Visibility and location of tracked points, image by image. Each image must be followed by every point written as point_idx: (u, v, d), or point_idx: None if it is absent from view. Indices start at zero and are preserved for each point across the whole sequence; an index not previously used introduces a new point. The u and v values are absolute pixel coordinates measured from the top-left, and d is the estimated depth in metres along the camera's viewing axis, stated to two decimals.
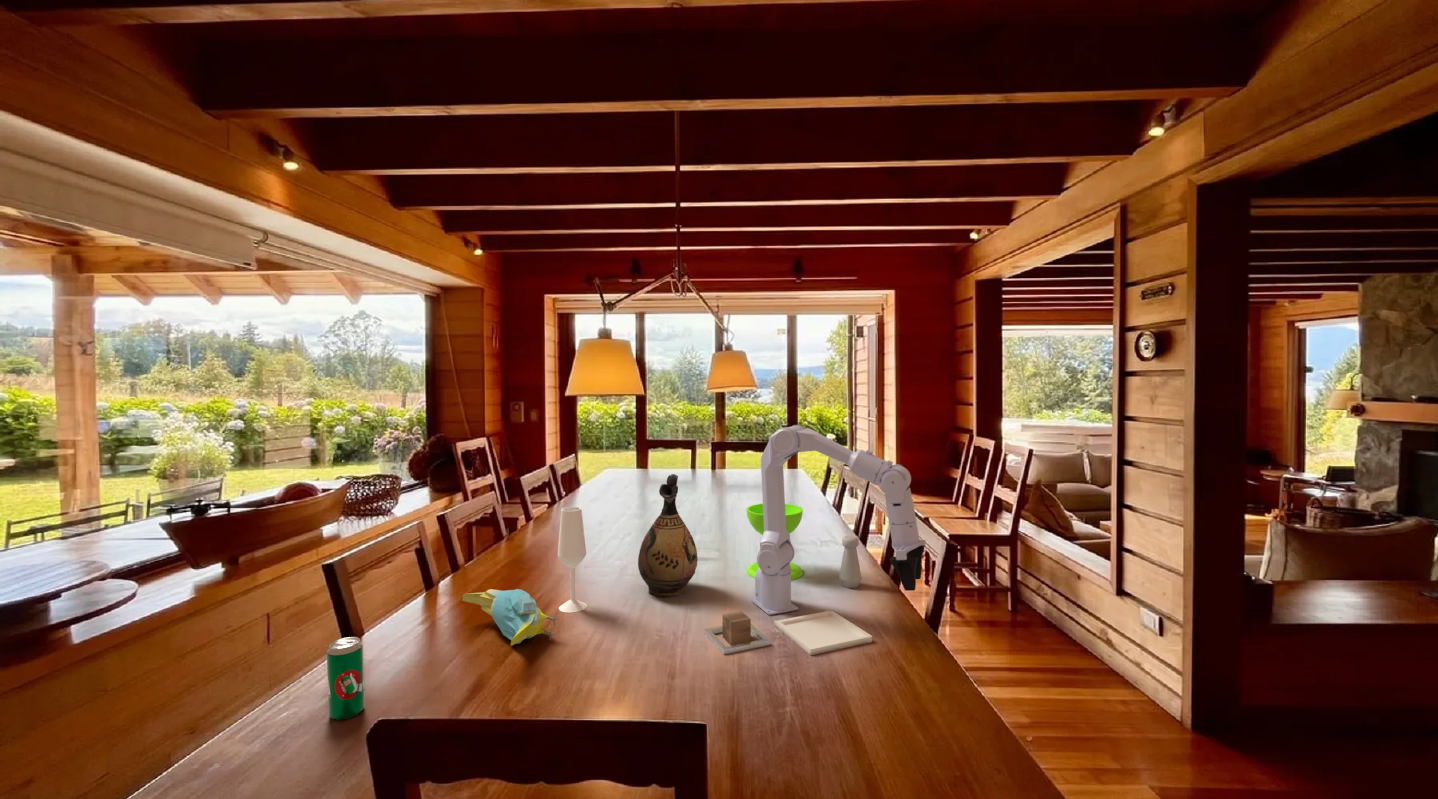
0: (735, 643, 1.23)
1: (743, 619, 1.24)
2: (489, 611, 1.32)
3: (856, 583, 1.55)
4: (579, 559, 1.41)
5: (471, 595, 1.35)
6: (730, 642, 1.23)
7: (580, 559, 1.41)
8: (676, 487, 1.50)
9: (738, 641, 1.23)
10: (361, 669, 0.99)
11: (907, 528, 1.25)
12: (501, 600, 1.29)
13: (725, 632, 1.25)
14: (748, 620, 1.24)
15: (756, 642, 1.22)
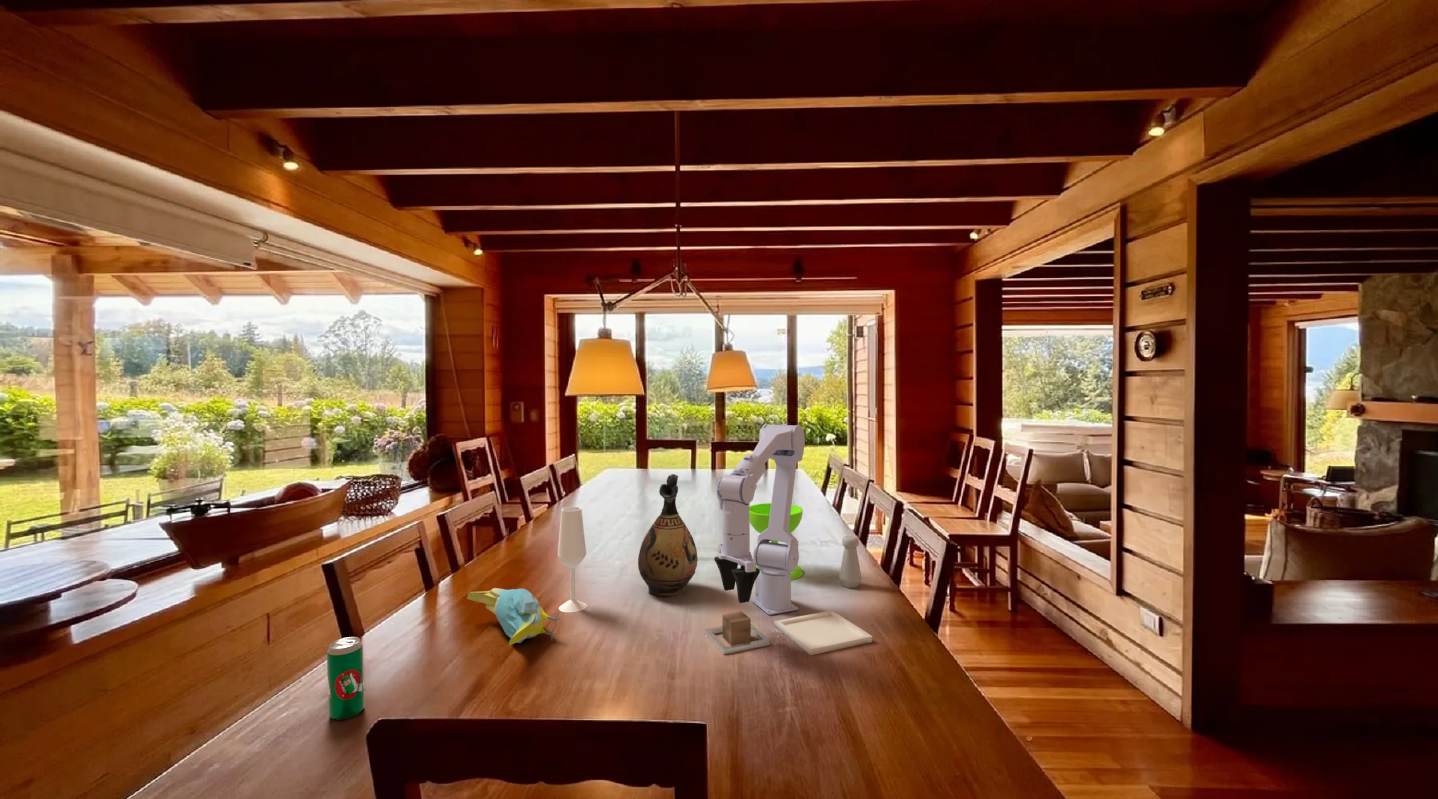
0: (735, 643, 1.23)
1: (743, 619, 1.24)
2: (493, 610, 1.33)
3: (856, 583, 1.55)
4: (579, 559, 1.41)
5: (476, 593, 1.35)
6: (730, 642, 1.23)
7: (580, 559, 1.41)
8: (676, 487, 1.50)
9: (738, 641, 1.23)
10: (361, 669, 0.99)
11: None
12: (504, 599, 1.29)
13: (725, 632, 1.25)
14: (748, 620, 1.24)
15: (756, 642, 1.22)
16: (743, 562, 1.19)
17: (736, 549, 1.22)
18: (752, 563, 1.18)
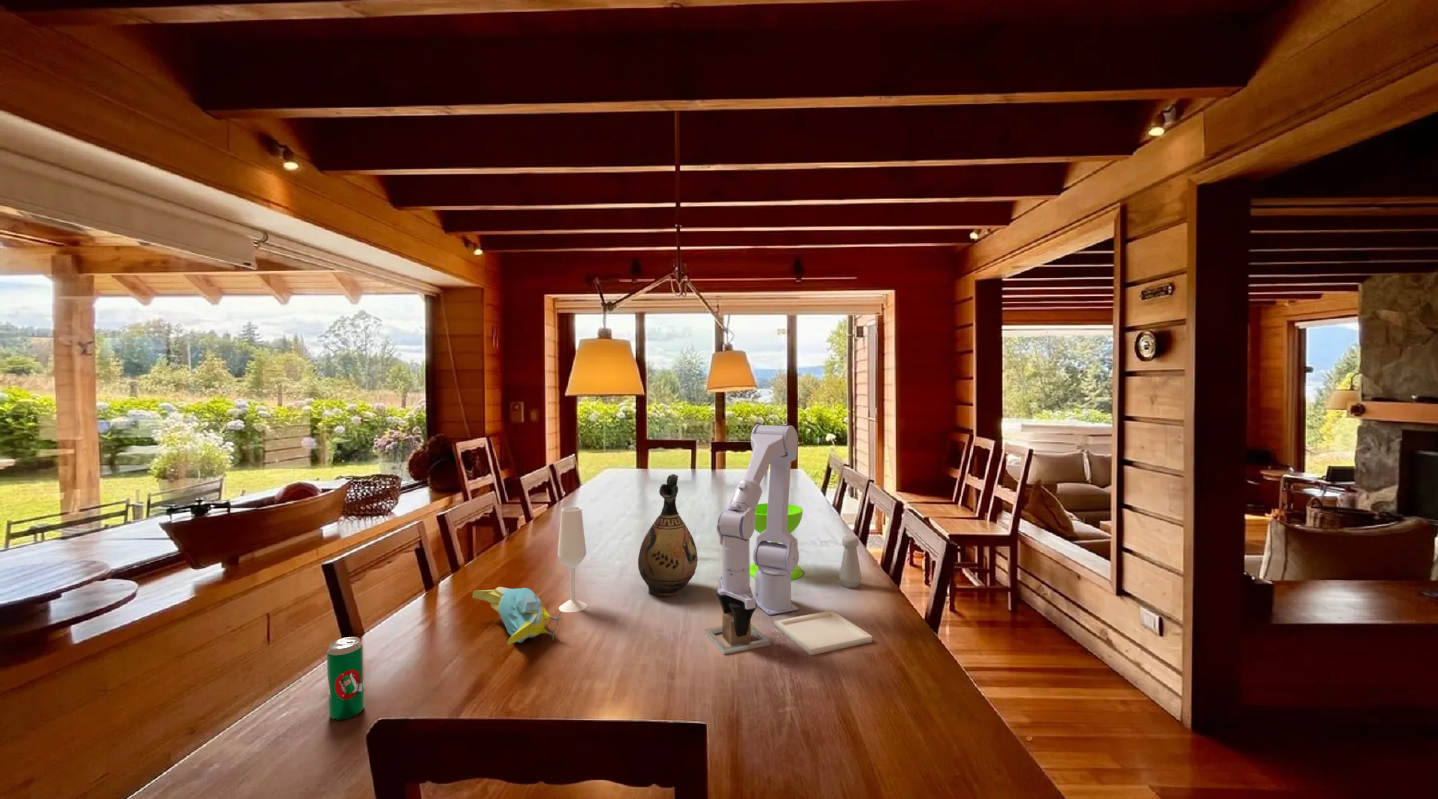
0: (735, 643, 1.23)
1: None
2: (497, 609, 1.33)
3: (856, 583, 1.55)
4: (579, 559, 1.41)
5: (481, 592, 1.36)
6: (730, 642, 1.23)
7: (580, 559, 1.41)
8: (676, 487, 1.50)
9: (738, 640, 1.23)
10: (361, 669, 0.99)
11: None
12: (507, 598, 1.30)
13: (725, 632, 1.25)
14: None
15: (756, 642, 1.22)
16: (743, 599, 1.19)
17: (736, 585, 1.22)
18: (752, 600, 1.18)
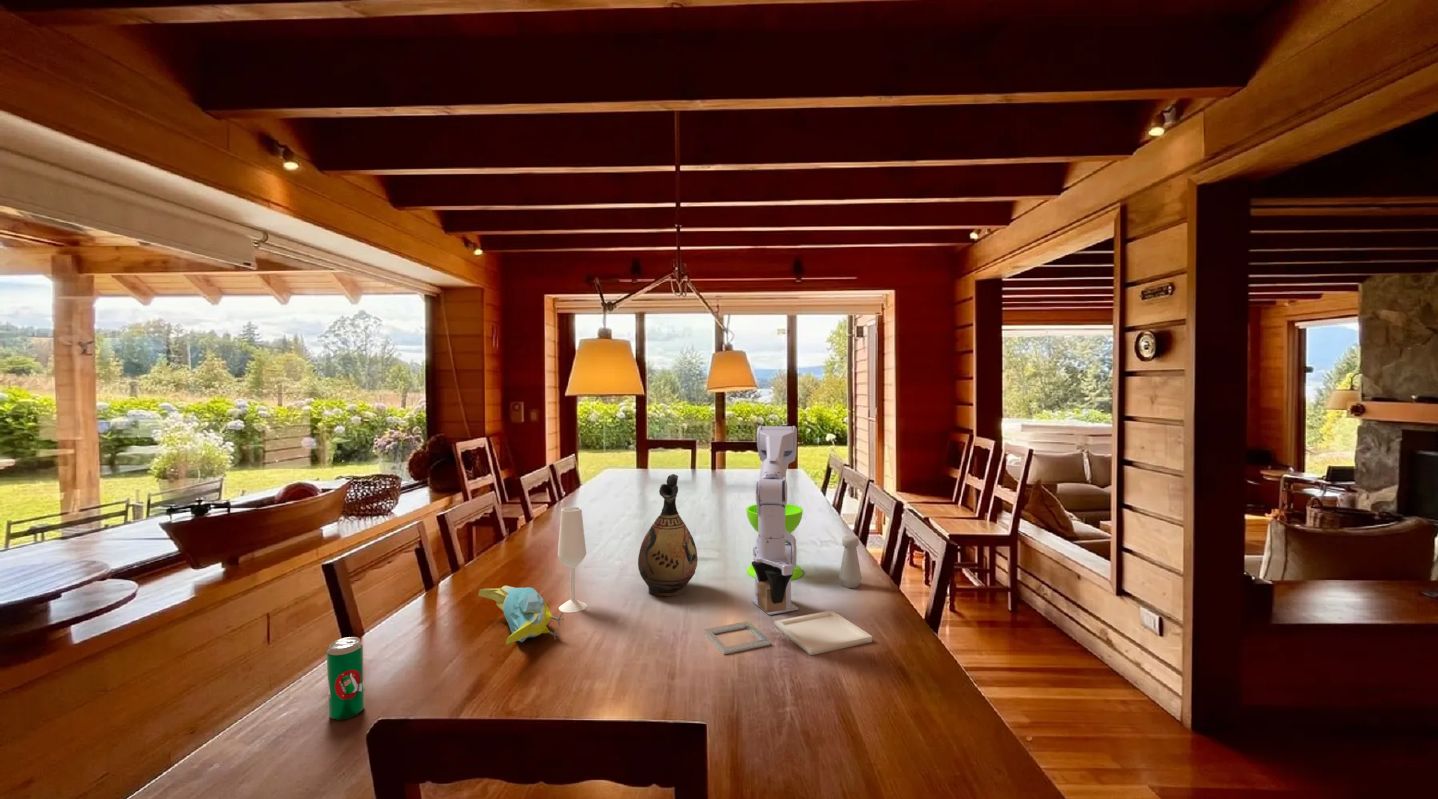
0: (771, 610, 1.24)
1: None
2: (502, 607, 1.34)
3: (856, 583, 1.55)
4: (579, 559, 1.41)
5: (487, 590, 1.37)
6: (766, 609, 1.24)
7: (580, 559, 1.41)
8: (676, 487, 1.50)
9: (774, 608, 1.24)
10: (361, 669, 0.99)
11: None
12: (511, 597, 1.30)
13: (760, 599, 1.26)
14: None
15: (756, 642, 1.22)
16: (780, 565, 1.20)
17: (772, 552, 1.23)
18: (789, 566, 1.19)
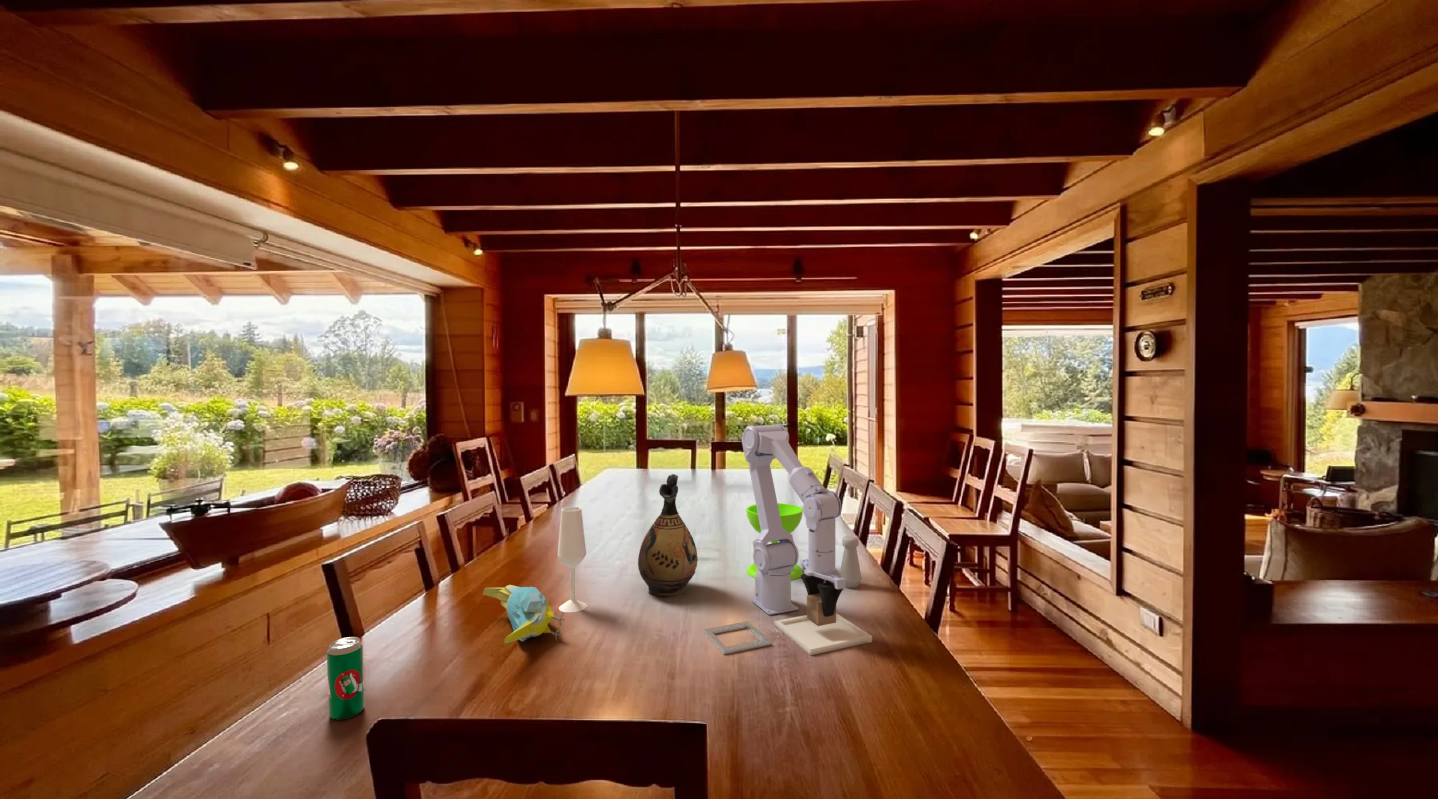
0: (822, 623, 1.25)
1: None
2: (506, 606, 1.35)
3: (856, 583, 1.55)
4: (579, 559, 1.41)
5: (492, 589, 1.38)
6: (817, 622, 1.25)
7: (580, 559, 1.41)
8: (676, 487, 1.50)
9: (824, 621, 1.25)
10: (361, 669, 0.99)
11: None
12: (514, 596, 1.31)
13: (810, 613, 1.27)
14: None
15: (756, 642, 1.22)
16: (833, 579, 1.21)
17: (823, 566, 1.24)
18: (842, 580, 1.21)
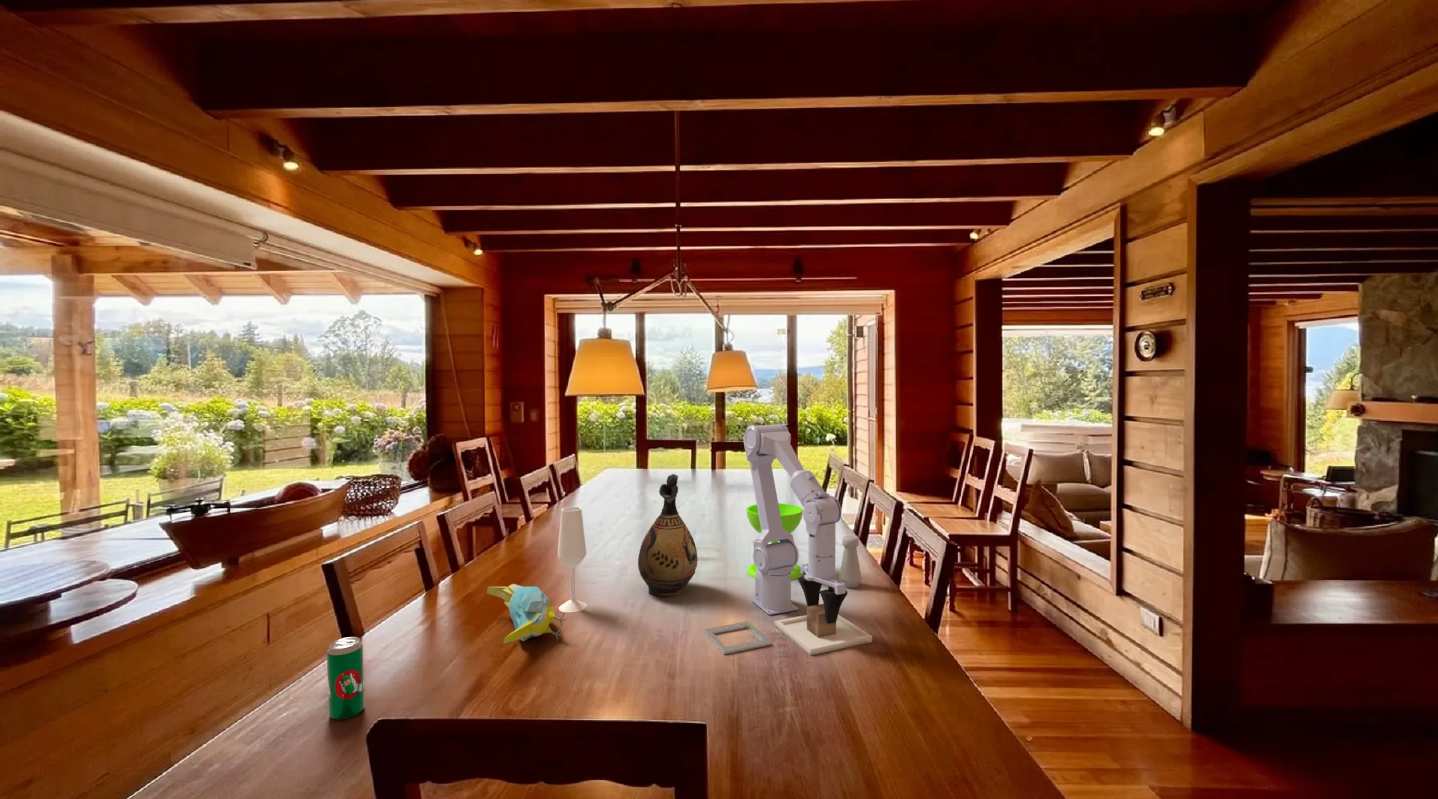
0: (822, 635, 1.25)
1: None
2: (509, 606, 1.35)
3: (856, 583, 1.55)
4: (579, 559, 1.41)
5: (495, 588, 1.39)
6: (817, 634, 1.25)
7: (580, 559, 1.41)
8: (676, 487, 1.50)
9: (824, 632, 1.25)
10: (361, 669, 0.99)
11: None
12: (516, 595, 1.31)
13: (810, 624, 1.27)
14: None
15: (756, 642, 1.22)
16: (833, 584, 1.21)
17: (823, 571, 1.24)
18: (842, 585, 1.21)
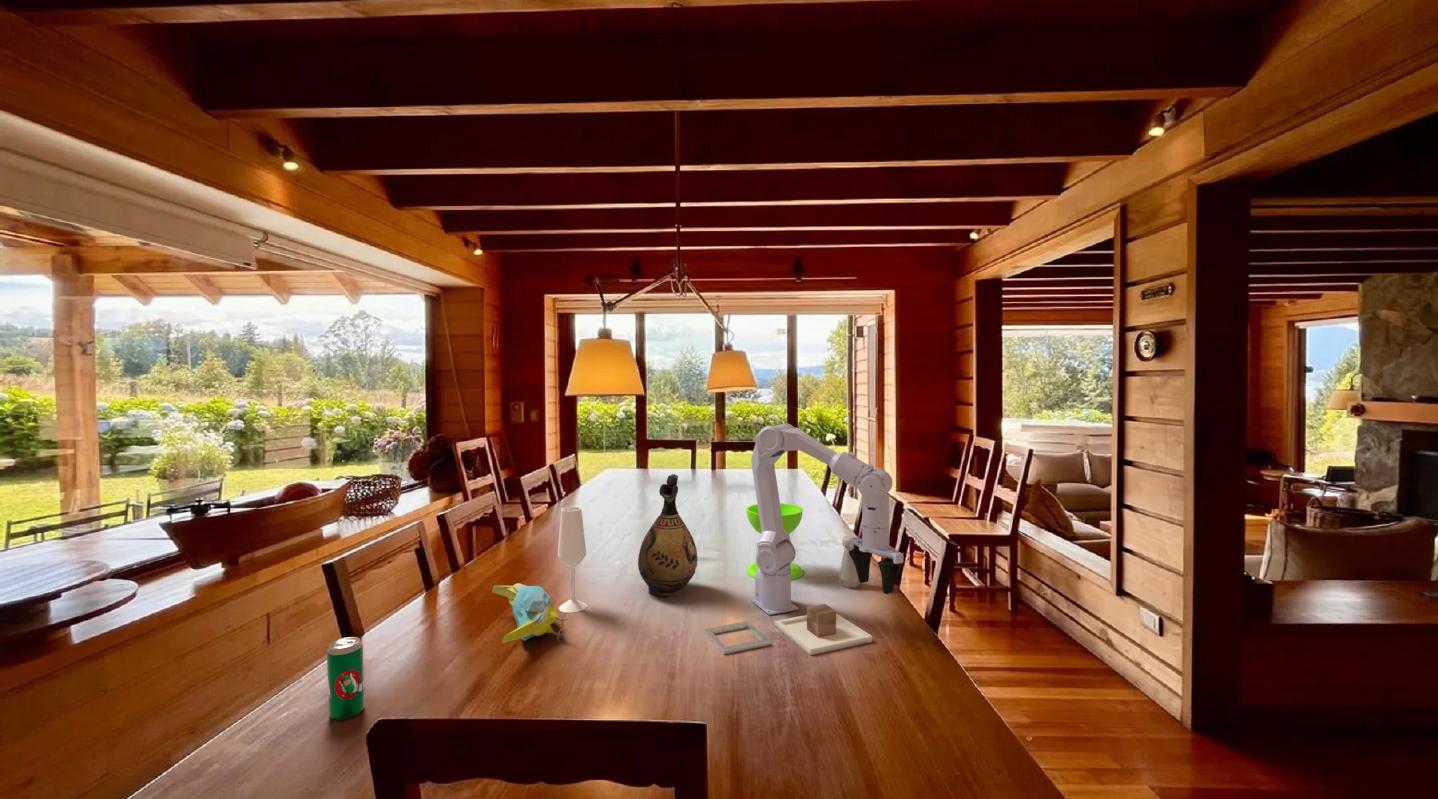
0: (822, 635, 1.25)
1: (829, 611, 1.26)
2: (513, 605, 1.36)
3: (856, 583, 1.55)
4: (579, 559, 1.41)
5: (500, 587, 1.39)
6: (817, 634, 1.25)
7: (580, 559, 1.41)
8: (676, 487, 1.50)
9: (824, 632, 1.25)
10: (361, 669, 0.99)
11: None
12: (519, 595, 1.32)
13: (810, 624, 1.27)
14: (834, 612, 1.26)
15: (756, 642, 1.22)
16: (891, 554, 1.23)
17: (879, 542, 1.26)
18: (900, 555, 1.23)
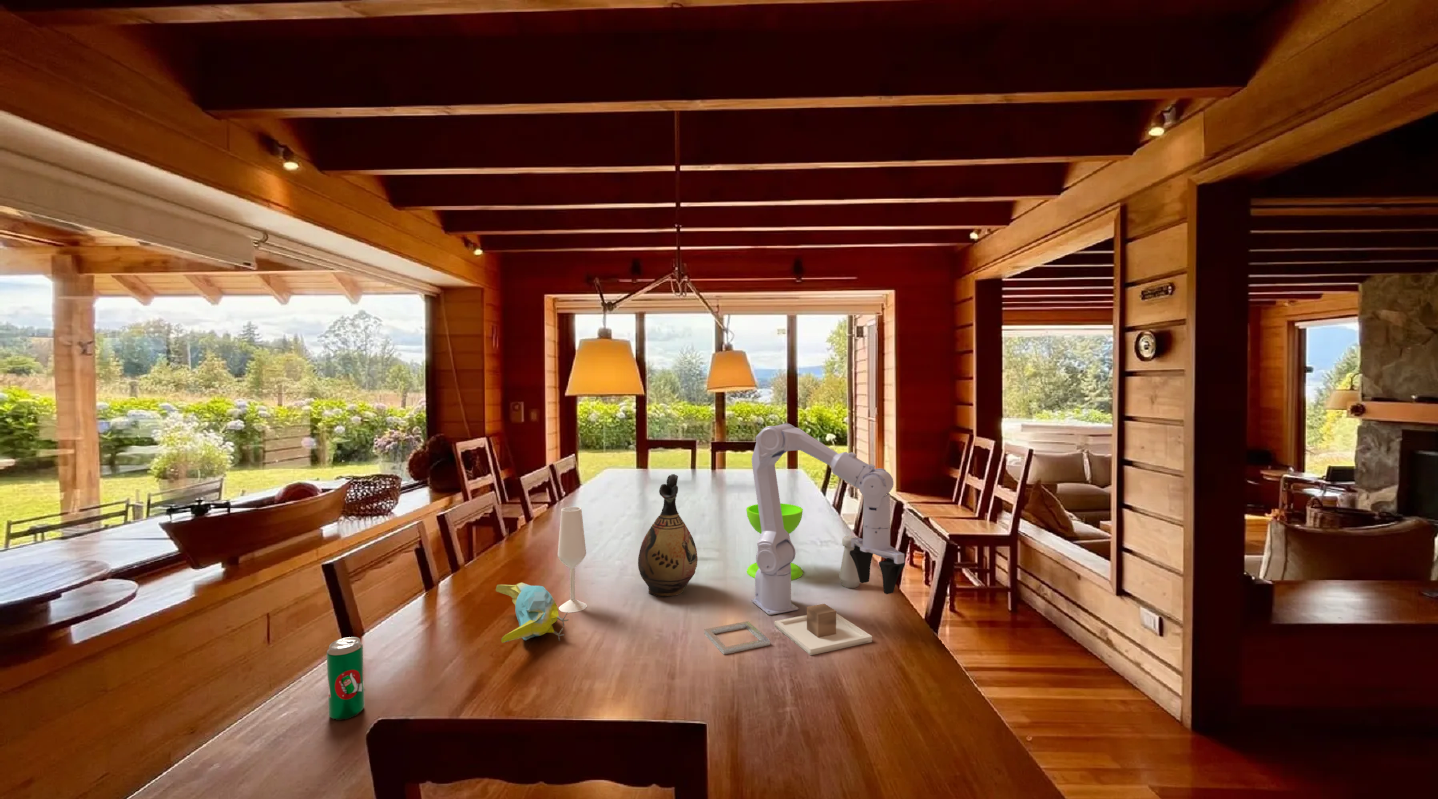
0: (822, 635, 1.25)
1: (829, 611, 1.26)
2: (516, 604, 1.36)
3: (856, 583, 1.55)
4: (579, 559, 1.41)
5: (504, 586, 1.40)
6: (817, 634, 1.25)
7: (580, 559, 1.41)
8: (676, 487, 1.50)
9: (824, 632, 1.25)
10: (361, 669, 0.99)
11: None
12: (522, 594, 1.32)
13: (810, 624, 1.27)
14: (834, 612, 1.26)
15: (756, 642, 1.22)
16: (892, 554, 1.23)
17: (880, 542, 1.26)
18: (901, 555, 1.23)
